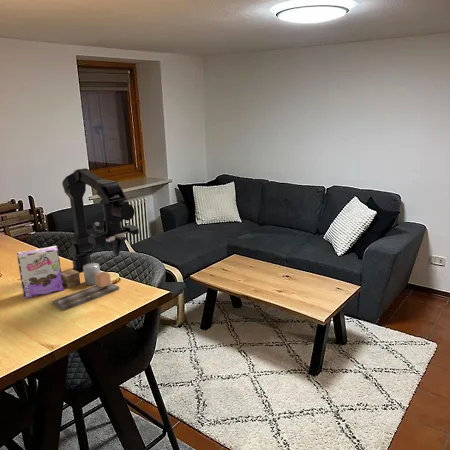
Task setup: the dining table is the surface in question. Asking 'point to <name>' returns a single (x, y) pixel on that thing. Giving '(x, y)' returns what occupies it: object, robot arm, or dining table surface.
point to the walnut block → (70, 278)
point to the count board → (83, 296)
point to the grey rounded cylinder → (90, 273)
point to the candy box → (40, 271)
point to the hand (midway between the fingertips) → (116, 256)
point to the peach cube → (102, 279)
